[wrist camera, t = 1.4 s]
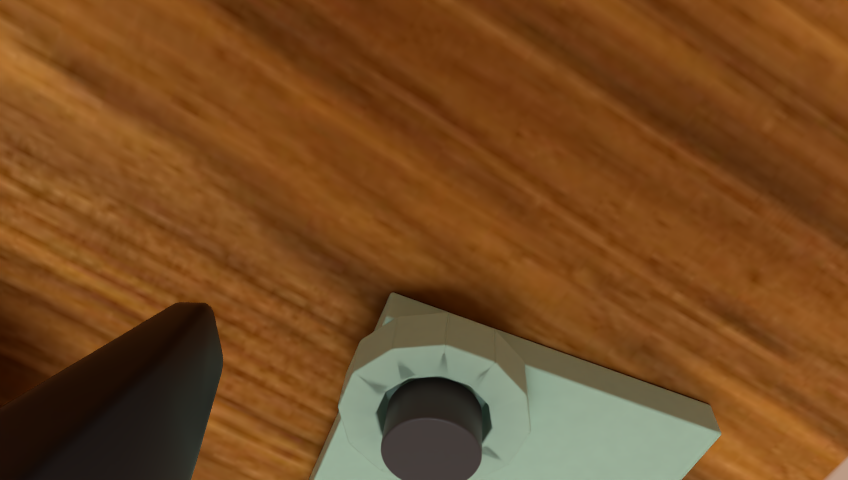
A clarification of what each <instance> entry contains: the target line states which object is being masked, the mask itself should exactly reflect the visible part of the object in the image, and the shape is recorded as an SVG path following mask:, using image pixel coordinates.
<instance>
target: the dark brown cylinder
mask: <svg viewBox="0 0 848 480" xmlns="http://www.w3.org/2000/svg"><path fill="white" fill-rule="evenodd" d="M381 455H382V458H383V461H384V463H385V465H386V467H387V468H388V469H389V470H390V471H391V472H392V473H393V474H394V475H395V476H396V477H398V478H399V479H401V480H468V479H469V478H470V477H471V476H472V475H473V474H474V473H475V472H476V471H477V469H478V468H479V466H480V463H481V460H482V409H481V406H480V404H479V401H478V400H477V398H476V397H475V396H474V394H473V393H472V392H471V391H470V390H468V389H467V388H466V387H464V386H463V385H461V384H459V383H457V382H454V381H452V380H448V379H444V378H437V377H426V378H419V379H415V380H412V381H410V382H408V383H405V384H404V385H402V386H401V387H399V388H398V389H397V390H396V391H395V392H394V394H393V395H392V396H391V398H390V400H389V403H388V407H387V413H386V419H385V425H384V431H383V437H382V442H381Z"/></svg>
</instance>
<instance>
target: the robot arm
mask: <svg viewBox="0 0 848 480" xmlns="http://www.w3.org/2000/svg"><path fill="white" fill-rule="evenodd" d="M222 367H223V354H222V349H221V344H220V340H219V335H218V330H217V326H216V321H215V316H214V313H213V310H212V308H211V307H210V306H209V305H208V304H206V303H190V302H179V303H175V304H173V305H171V306H170V307H168V308H166V309H165V310H163V311H161V312H160V313H158V314H156V315H155V316H153V317H151V318H150V319H148V320H146V321H145V322H143V323H141V324H140V325H138V326H136V327H135V328H133V329H131V330H129V331H128V332H126V333H124V334H123V335H121V336H119V337H118V338H116V339H114V340H113V341H111V342H109V343H108V344H106V345H104V346H103V347H101V348H99V349H98V350H96V351H94V352H93V353H91V354H89V355H88V356H86V357H84V358H83V359H81V360H79V361H78V362H76V363H74V364H73V365H71V366H69V367H68V368H66V369H64V370H63V371H61V372H59V373H58V374H56V375H54V376H53V377H51V378H49V379H48V380H46V381H44V382H42V383H41V384H39V385H37V386H36V387H34V388H32V389H31V390H29V391H27V392H26V393H24V394H22V395H21V396H19V397H17V398H16V399H14V400H12V401H11V402H9V403H7V404H6V405H4V406H2V407H1V408H0V480H191V477H192V474H193V471H194V468H195V464H196V461H197V458H198V454H199V451H200V447H201V444H202V440H203V437H204V433H205V429H206V426H207V422H208V419H209V415H210V412H211V408H212V405H213V401H214V398H215V394H216V391H217V387H218V383H219V380H220V376H221V372H222Z"/></svg>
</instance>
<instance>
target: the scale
mask: <svg viewBox="0 0 848 480" xmlns="http://www.w3.org/2000/svg"><path fill="white" fill-rule="evenodd" d="M426 377H437V378H444V379H448V380H452V381H454V382H457V383H459V384H461V385H463V386H464V387H466V388H467V389H468V390H470V391H471V392H472V393H473V394H474V396H475V397H476V398H477V400H478V401H479V404H480V406H481V409H482V460H481V463H480V466H479V468H478V469H477V471H476V472H475V473H474V474H473V475H472V476H471V477H470V478H469V479H468V480H682V478H683V477H684V476H685V475H686V474H687V473H688V472H689V471H690V469H691V468H692V467H693V466H694V465H695V464H696V463H697V462H698V460H699V459H700V458H701V457H702V456H703V455H704V454H705V452H706V451H707V450H708V449H709V448H710V447H711V446H712V445H713V443H714V442H715V441H716V440H717V439H718V438H719V437H720V435H721V431H720V429H719V426H718V424H717V421H716V419H715V416H714V414H713V411H712V409H711V406H710V405H708V404H705V403H702V402H700V401H697V400H694V399H691V398H688V397H686V396H683V395H680V394H677V393H674V392H671V391H669V390H666V389H663V388H660V387H657V386H655V385H652V384H649V383H646V382H643V381H641V380H638V379H635V378H632V377H629V376H627V375H624V374H621V373H618V372H615V371H612V370H610V369H607V368H604V367H601V366H598V365H596V364H593V363H590V362H587V361H584V360H582V359H579V358H576V357H573V356H570V355H567V354H565V353H562V352H559V351H556V350H553V349H551V348H548V347H545V346H542V345H539V344H537V343H534V342H531V341H528V340H525V339H522V338H520V337H517V336H514V335H511V334H508V333H506V332H503V331H500V330H497V329H494V328H492V327H489V326H486V325H483V324H480V323H477V322H475V321H472V320H469V319H466V318H463V317H461V316H458V315H455V314H452V313H449V312H447V311H444V310H441V309H438V308H435V307H433V306H430V305H427V304H424V303H421V302H418V301H416V300H413V299H410V298H407V297H404V296H402V295H399V294H396V293H391V294H390V296H389V298H388V300H387V303H386V305H385V307H384V309H383V312H382V314H381V316H380V318H379V321H378V323H377V325H376V328H375V330H374V332H373V333H371V334H370V335H368V336H366V337H365V338H363V339H362V340H361V341H360V342H359V345H358V347H357V349H356V352H355V354H354V356H353V359H352V361H351V363H350V366H349V368H348V370H347V373H346V376H345V380H344V384H343V388H342V391H341V395H340V399H339V403H338V409H339V412H338V414H337V416H336V419H335V421H334V423H333V426H332V428H331V430H330V432H329V435H328V437H327V439H326V442H325V444H324V446H323V448H322V451H321V453H320V455H319V458H318V460H317V462H316V464H315V467H314V469H313V471H312V473H311V476H310V478H309V480H401V479H399V478H398V477H396V476H395V475H394V474H393V473H392V472H391V471H390V470H389V469H388V468H387V467H386V465H385V463H384V461H383V458H382V455H381V442H382V437H383V431H384V425H385V419H386V413H387V407H388V403H389V400H390V398H391V396H392V395H393V394H394V392H395V391H396V390H397V389H398V388H399V387H401V386H402V385H404V384H405V383H408V382H410V381H412V380H415V379H419V378H426Z"/></svg>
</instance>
